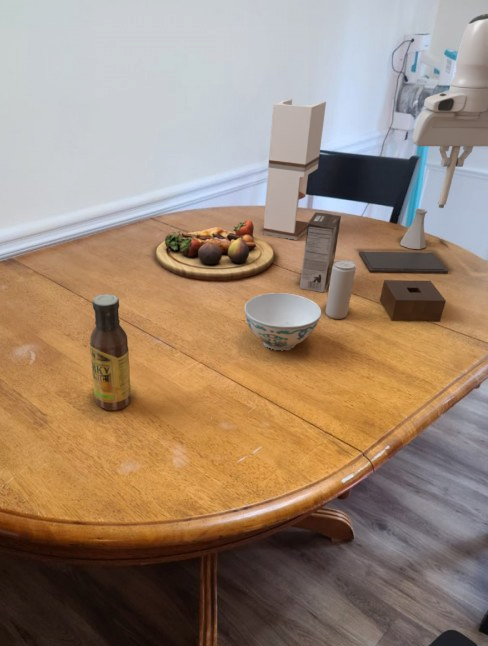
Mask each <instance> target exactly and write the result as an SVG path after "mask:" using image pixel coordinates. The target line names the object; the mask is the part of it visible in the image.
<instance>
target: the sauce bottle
mask: <svg viewBox="0 0 488 646" xmlns="http://www.w3.org/2000/svg"><path fill="white" fill-rule="evenodd" d="M92 308H93V311H94V320H95V321H94V324H95V327H94V328H93V330H92V332H91V334H90V338H89V351H90V362H91V371H92V372H91V373H92V374H91V375H92V382H93V383H92V384H93V392H94V396H95V401H96V403H97V406H98V407H100V408H102V409H104V410H106V411H117V410H122V409H124V408H126V407H127V406H128V405H129V404H130V402H131V392H132V391H131V371H130V369H131V368H130V354H129V346H128V334H127V333H126V331H125V330H124V328H123V327H122V326H121V325H120V316H119V315H120V314H119V309H120V299H119V297H118V296H117V295H115V294H111V293H103V294H98V295H95V297H94V298H93V299H92ZM125 406H126V407H125Z"/></svg>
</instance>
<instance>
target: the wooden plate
mask: <svg viewBox="0 0 488 646" xmlns="http://www.w3.org/2000/svg"><path fill="white" fill-rule="evenodd" d="M233 228H234V229H233V230H232V231H229V230H227V229H224V228H222V227H211V228H207V229H203V230H200V231H199V230H198V231H191V232H190V231H189V232H185V233H181V231H182V230H181V231H180V230H179V231H178V232H175V231H172V232H169V233H168V234H166V236H165V238H164V241H162V242H161V243H160V244H159V245H158V246H157V248H156V251H155V258H156V260H157V262H158V263H159V265H161V266H162V267H163V268H164V269H166V270H167V271H169V272H171V273H173V274H176V275H179V276H181V277H186V278H192V279H197V280H204V281H205V280H206V281H226V280H235V279H241V278H246V277H250V276H254V275H256V274H259V273H261V272H263V271H265V270H267V269H268V268H269V267H270V266H271V265H272V264H273V262H274V259H275V253H274V249H273V248H272V246H270V244H268V243H267V242H266V241H264V240H263V239H261V238H258V237H256V236H254V229H255V227H254V223H253V221H252V220H249V219H247V220H246V219H245V220H244V222H243V221H240V222H239V223H237V226H233Z"/></svg>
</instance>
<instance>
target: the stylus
mask: <svg viewBox="0 0 488 646" xmlns="http://www.w3.org/2000/svg"><path fill="white" fill-rule="evenodd" d="M460 150H461V146H451V150H450V153H449V157H448V158H450V159H451V162H450V166H449V167H446V170H445V174H444V178H443V182H442V186H441V190H440V194H439V197H438V202H437V204H438V208H439V209H444V207H445V205H447V201H448V197H449V194H450V190H451V185H452V180H453V178H454V174H455V170H456V168H457V167H456V163H457V159H458V157H459V154H460Z"/></svg>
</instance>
